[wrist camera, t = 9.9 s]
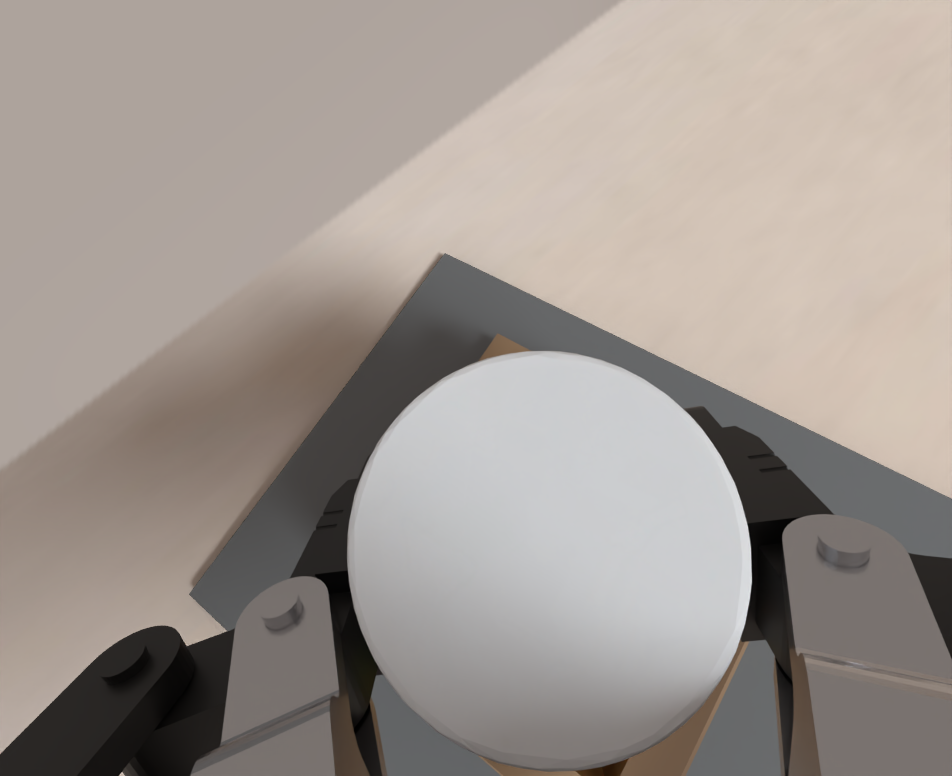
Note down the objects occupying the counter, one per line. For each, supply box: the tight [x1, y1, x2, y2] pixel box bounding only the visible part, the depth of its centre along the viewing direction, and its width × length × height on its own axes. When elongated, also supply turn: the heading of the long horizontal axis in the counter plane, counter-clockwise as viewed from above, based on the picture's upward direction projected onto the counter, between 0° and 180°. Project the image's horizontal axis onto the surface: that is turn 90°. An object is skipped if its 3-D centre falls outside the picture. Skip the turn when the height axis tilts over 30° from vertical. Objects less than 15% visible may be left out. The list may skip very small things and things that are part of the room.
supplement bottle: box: [347, 351, 752, 772], centre depth 9 cm, size 5×5×10 cm
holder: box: [478, 333, 749, 776], centre depth 14 cm, size 11×11×4 cm
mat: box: [189, 253, 952, 776], centre depth 16 cm, size 22×16×1 cm
